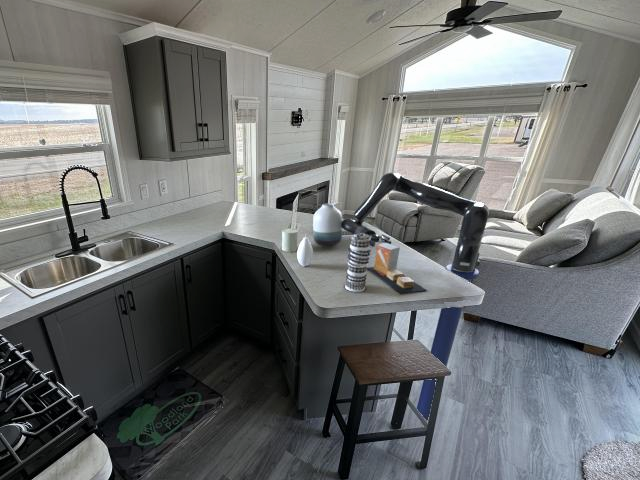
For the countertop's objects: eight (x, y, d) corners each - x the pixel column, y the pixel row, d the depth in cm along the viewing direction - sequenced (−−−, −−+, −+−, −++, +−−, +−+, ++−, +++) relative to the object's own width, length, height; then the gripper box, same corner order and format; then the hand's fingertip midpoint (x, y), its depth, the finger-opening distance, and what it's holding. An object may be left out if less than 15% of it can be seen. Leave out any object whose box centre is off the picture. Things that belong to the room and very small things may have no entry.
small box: (373, 269, 163) (376, 244, 158) (382, 266, 166) (386, 242, 161) (386, 275, 157) (391, 249, 151) (396, 272, 159) (400, 247, 154)
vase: (331, 249, 188) (332, 207, 181) (307, 245, 200) (307, 205, 193) (347, 242, 199) (348, 202, 191) (323, 238, 211) (323, 201, 203)
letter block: (406, 282, 149) (407, 276, 148) (413, 287, 145) (414, 281, 144) (396, 283, 149) (397, 277, 147) (403, 288, 144) (404, 282, 143)
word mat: (388, 266, 168) (388, 265, 167) (425, 290, 142) (426, 289, 142) (366, 268, 166) (367, 267, 166) (400, 294, 141) (401, 292, 140)
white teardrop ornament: (293, 265, 172) (294, 233, 165) (303, 261, 177) (305, 229, 170) (305, 270, 167) (307, 236, 160) (315, 265, 171) (317, 232, 164)
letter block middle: (396, 275, 157) (397, 269, 155) (402, 279, 152) (403, 273, 151) (386, 276, 156) (387, 270, 155) (392, 280, 151) (393, 274, 150)
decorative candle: (345, 291, 144) (351, 237, 134) (343, 282, 152) (348, 231, 142) (367, 293, 142) (374, 238, 132) (363, 283, 151) (370, 231, 141)
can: (299, 247, 197) (299, 228, 192) (294, 252, 190) (295, 232, 185) (284, 245, 201) (284, 227, 196) (279, 250, 193) (279, 231, 188)
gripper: (353, 228, 173) (370, 238, 158) (378, 226, 175) (396, 235, 160) (352, 241, 176) (367, 252, 161) (376, 239, 178) (394, 250, 163)
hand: (382, 244), depth 161 cm, fingers open, 8 cm apart
